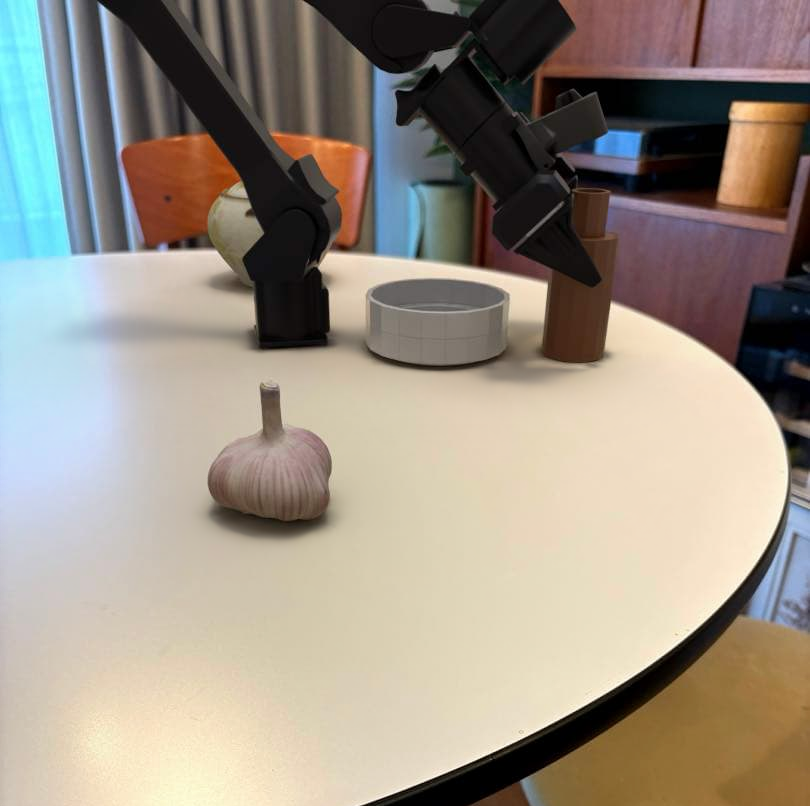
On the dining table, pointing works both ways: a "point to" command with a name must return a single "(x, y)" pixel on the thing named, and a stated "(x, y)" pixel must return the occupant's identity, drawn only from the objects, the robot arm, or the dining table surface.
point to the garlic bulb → (273, 468)
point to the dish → (437, 321)
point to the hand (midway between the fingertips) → (597, 272)
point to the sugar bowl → (236, 229)
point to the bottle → (582, 287)
